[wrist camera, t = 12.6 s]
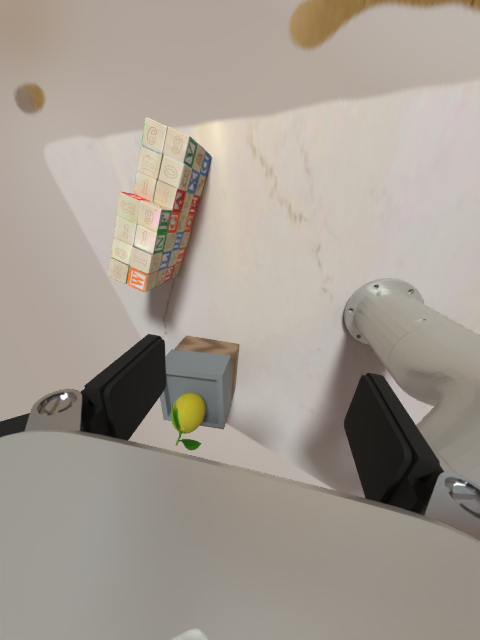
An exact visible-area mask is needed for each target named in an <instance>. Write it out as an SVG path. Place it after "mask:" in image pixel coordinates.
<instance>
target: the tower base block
mask: <svg viewBox="0 0 480 640" xmlns="http://www.w3.org/2000/svg"><path fill="white" fill-rule="evenodd" d="M175 350H183V351H193V352H203V353H212V354H222V355H231V401H232V397H233V394H234V391H235V385H236V374H237V363H238V353H239V344H235V343H229V342H223V341H216V340H210V339H204V338H198V337H192V336H186V337H185V338H184V339H183V340H182V341H181V342H180V343H179V345H178V346H177V347H176V348H175Z"/></svg>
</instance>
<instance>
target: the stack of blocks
mask: <svg viewBox="0 0 480 640" xmlns="http://www.w3.org/2000/svg"><path fill="white" fill-rule="evenodd" d="M210 161H211V155H210V154H209V153H208V152H207V151H205V149H204V148H203V147H202V146H201V145H199V144H198V143H197V142H196V141H194V140H193V139H192V138H191V137H190V136H188V135H186V134H184V133H181V132H179V131H177V130H175V129H173V128H170V127H167V126H165V125H163V124H161V123H158V122H156V121H154V120H151V119H149V118H145V124H144V131H143V137H142V145H141V147H140V154H139V160H138V167H137V173H136V179H135V186H134V194H131V193H125V192H119V198H118V206H117V218H116V225H115V233H114V238H113V245H112V253H111V258H110V264H109V271H108V276H109V277H111V278H113V279H116V280H118V281H120V282H122V283H124V284H127V285H129V286H131V287H133V288H135V289H138V290H140V291H142V292H147V291H148V290H150V289H152V288H154V287H157V286H159V285H161V284H163V283H164V282H166V281H168V280H169V279H172V278H174V277H176V276H177V275H178V272H179V269H180V266H181V262H182V260H183V257H184V253H185V250H186V246H187V243H188V240H189V237H190V233H191V227H192V224H193V220H194V217H195V212H196V209H197V205H198V202H199V198H200V196H201V193H202V190H203V186H204V183H205V179H206V175H207V172H208V168H209V165H210Z"/></svg>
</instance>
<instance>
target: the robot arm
mask: <svg viewBox="0 0 480 640" xmlns="http://www.w3.org/2000/svg"><path fill="white" fill-rule="evenodd" d="M374 285H376V286H375V287H374ZM409 290H410V291H409ZM350 308H351V310H349V309H350ZM344 322H345V325H346V328H347V329H348V331H349V333H350V334H351V335H352V336H353V337H354V338H355V339H356V340H358V341H359V342H361V343H363V344H366V345H370V347H371V348H372V349H373V351H374V352H375V354H376V355H377V356H378V358H379V359H380V361H381V362H382V363H383V365H384V366H385V368H386V369H387V370H388V372H389V373H390V375H391V376H392V377H393V379H394V380H395V382H396V383H397V384H398V386H399V387H400V388H401V389H402V390H403V391H404V392H406V393H407V394H408V395H410V396H411V397H413V398H415V399H416V400H418V401H420V402H423V403H426V404H428V405H431V406H435V407H434V408H433V409H432V410H431V411H430V412H429V413H428V414H427V415H426V416H424V417H423V419H422V420H421V421H420V422H419V423H418V424H417V425H415V423H414V422H413V420H412V419H411V417H410V416H409V414H408V413H407V411H406V410H405V408H404V407H403V405H402V404H401V402H400V401H399V399H398V398H397V396H396V395H395V393H394V392H393V390H392V389H391V387H390V386H389V384H388V382H387V381H386V379H385V378H384V377H383V376H382V375H377V374H371V373H367V374H366V375H365V376H364V375H363V376H362V377H361V378H360V381H359V384H358V386H357V389H356V391H355V394H354V397H353V399H352V402H351V404H350V407H349V410H348V412H347V415H346V417H345V420H344V428H345V431H346V435H347V438H348V441H349V445H350V448H351V451H352V455H353V458H354V461H355V464H356V468H357V471H358V474H359V478H360V481H361V484H362V488H363V491H364V494H365V498H366V499H365V498H361V497H358V496H354V495H350V494H346V493H342V492H338V491H334V490H330V489H326V488H322V487H318V486H314V485H310V484H306V483H302V482H298V481H294V480H290V479H286V478H282V477H278V476H274V475H270V474H265V473H261V472H257V471H253V470H249V469H245V468H241V467H237V466H233V465H228V464H225V463H220V462H216V461H212V460H208V459H204V458H200V457H196V456H191V455H187V454H182V453H179V452H174V451H170V450H166V449H162V448H157V447H153V446H149V445H145V444H141V443H136V442H132V441H128V440H129V438H130V437H131V436H132V434H133V433H134V432H135V430H136V429H137V427H138V426H139V425H140V423H141V422H142V420H143V419H144V418H145V416H146V415H147V414H148V412H149V411H150V409H151V408H152V407H153V405H154V404H155V402H156V401H157V399H158V398H159V397H160V396H161V394H162V393H163V391H164V390H165V388H166V362H165V342H164V340H163V339H162V338H161V336H157V335H151V334H148V335H147V336H145V337H144V338H143V339H142V340H140V341H139V342H138V343H137V344H135V345H134V346H133V347H132V348H131V349H129V350H128V351H127V352H126V353H124V354H123V355H122V356H121V357H120V358H118V359H117V360H116V361H114V362H113V363H112V364H111V365H110V366H109V367H107V368H106V369H105V370H103V371H102V372H101V373H100V374H98V375H97V376H96V377H95V378H94V379H92V380H91V381H90V382H89V383H87V384H86V385H85V389H84V390H82V391H81V392H79V391H78V390H75V389H64V390H59V391H55V392H52V393H50V394H48V395H45V396H44V397H42V398H41V399H39V400H38V401H37V402H36V403H35V404H34V405H33V407H32V409H31V412H30V413H28V414H25V415H22V416H18V417H15V418H11V419H8V420H4V421H1V422H0V640H480V335H478V334H477V333H475V332H473V331H471V330H469V329H468V328H466V327H464V326H462V325H460V324H458V323H457V322H455V321H453V320H451V319H450V318H448V317H446V316H444V315H442V314H441V313H439V312H437V311H435V310H434V309H432V308H430V307H428V306H426V305H425V304H424V300H423V298H422V296H421V294H420V293H419V291H418V290H417V289H416V288H415V287H413V286H412V285H410V284H408V283H406V282H404V281H401V280H397V279H381V280H376V281H373V282H371V283H368V284H366V285H365V286H363V287H361V288H360V289H359V290H357V291H356V292H355V293H354V294H353V295H352V297H351V298H350V299H349V301H348V303H347V305H346V308H345V312H344ZM358 334H359V335H358Z"/></svg>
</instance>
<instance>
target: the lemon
mask: <svg viewBox="0 0 480 640" xmlns="http://www.w3.org/2000/svg"><path fill="white" fill-rule="evenodd" d="M204 415H205V403H204V400H203V399H202V397H201V396H200V395H198V394H196V393H191V392H189V393H185V394H183V395H181V396H180V397H179V398H178V399H177V400H176V402H175V403H174V406H173V401H172V408H171V420H172V424H173V426H174V427H175V429H176V430H177V431H179V438H178V440H177V443H176V445H177V444H178V442H179V441H182V442H183V444H184V446H185V447H186V448H187V449H189V450H195V449H197V448H198V447H199V446H200V444H201V443H199V442H197V441H194V440H190V439H182V440H179V439H180V437H181V434H182V433H190V432H192V431H194V430H196V429H197V427H198V426H199V425H200V424H201V423H202V421H203V418H204Z"/></svg>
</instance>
